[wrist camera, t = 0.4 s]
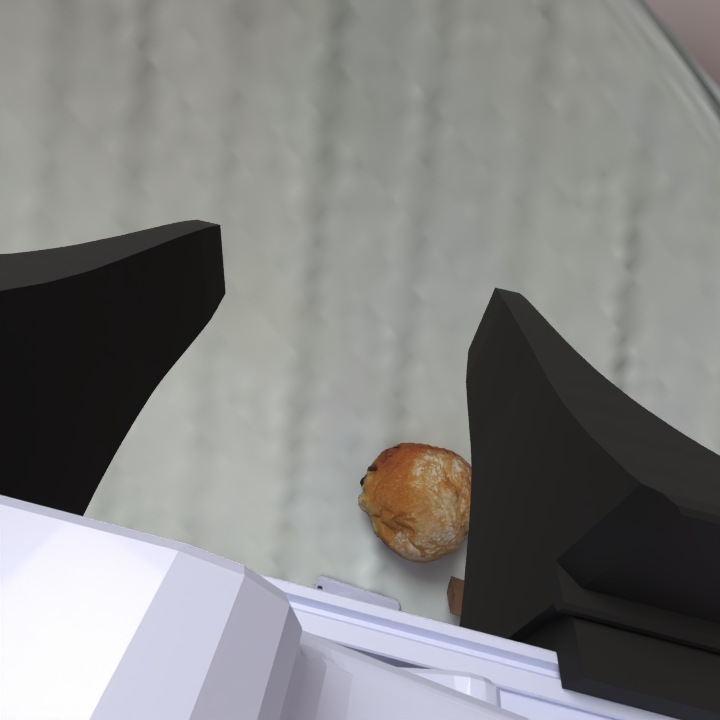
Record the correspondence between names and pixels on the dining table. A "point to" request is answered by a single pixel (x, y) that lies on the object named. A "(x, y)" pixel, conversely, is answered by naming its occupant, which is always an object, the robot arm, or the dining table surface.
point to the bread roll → (418, 500)
